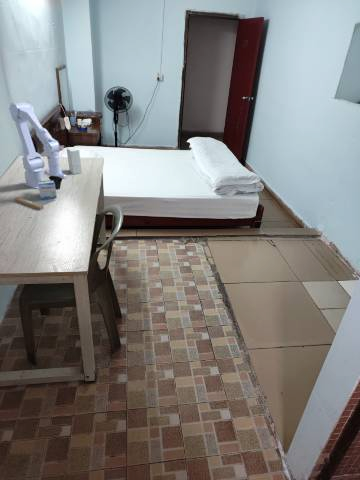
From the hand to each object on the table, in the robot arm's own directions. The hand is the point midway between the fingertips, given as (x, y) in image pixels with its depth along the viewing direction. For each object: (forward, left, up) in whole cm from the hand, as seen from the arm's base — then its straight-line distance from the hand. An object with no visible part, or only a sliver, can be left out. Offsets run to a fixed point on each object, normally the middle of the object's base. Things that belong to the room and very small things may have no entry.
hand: (57, 188), depth 179 cm
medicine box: (0, -7, -3) cm, 7 cm away
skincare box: (-17, +31, -3) cm, 36 cm away
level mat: (0, -13, -3) cm, 14 cm away
